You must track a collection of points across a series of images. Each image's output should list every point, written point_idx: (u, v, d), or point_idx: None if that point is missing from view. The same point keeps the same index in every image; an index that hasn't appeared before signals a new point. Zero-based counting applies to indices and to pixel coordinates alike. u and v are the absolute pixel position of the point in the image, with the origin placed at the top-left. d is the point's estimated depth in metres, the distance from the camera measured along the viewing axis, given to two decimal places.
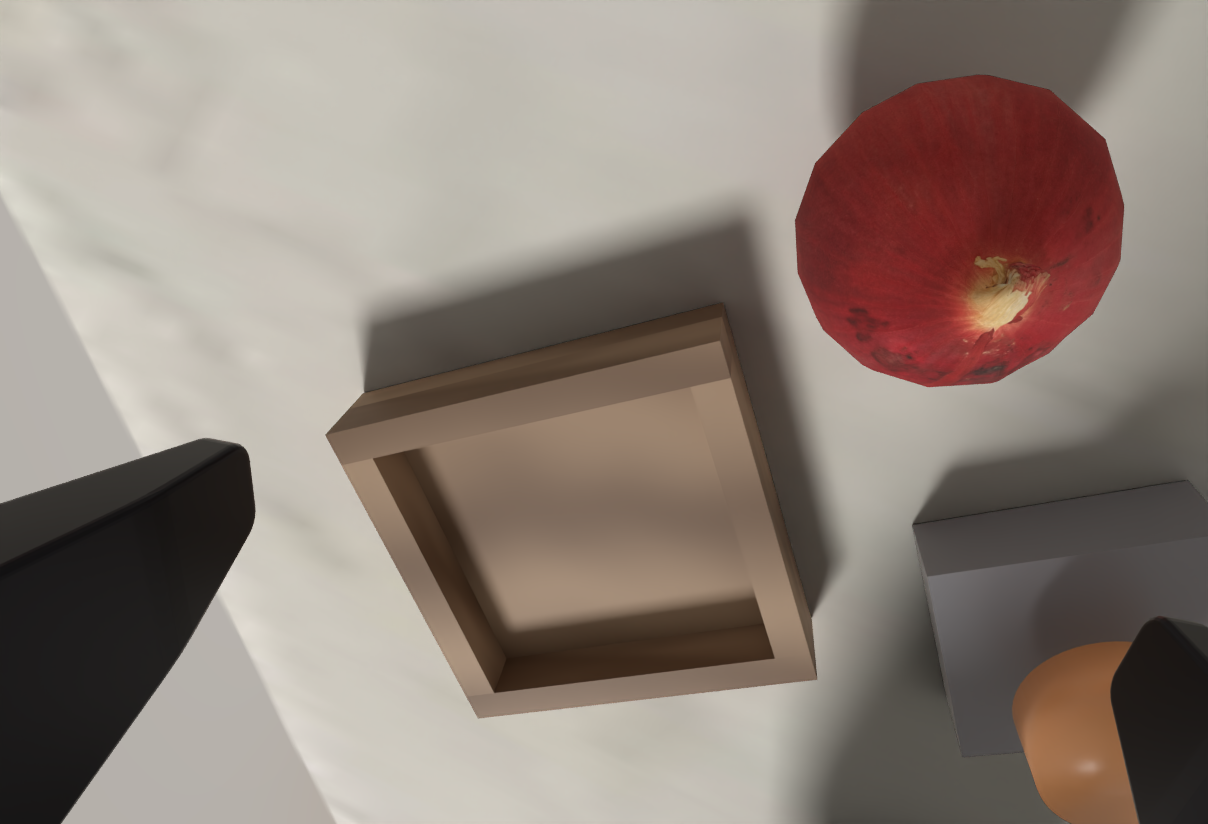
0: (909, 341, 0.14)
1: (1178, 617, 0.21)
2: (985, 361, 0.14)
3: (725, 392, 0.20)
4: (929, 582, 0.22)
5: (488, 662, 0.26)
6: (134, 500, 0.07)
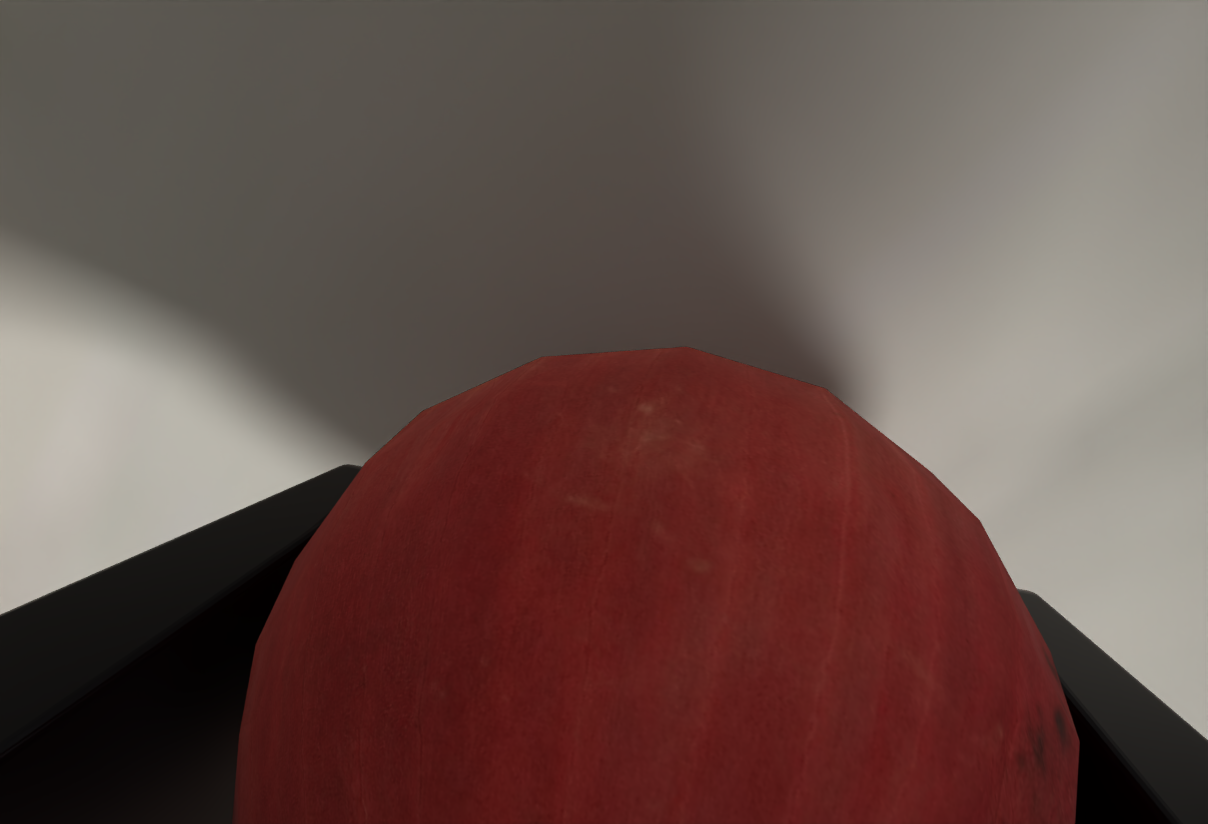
0: None
1: None
2: None
3: None
4: None
5: None
6: (302, 533, 0.07)
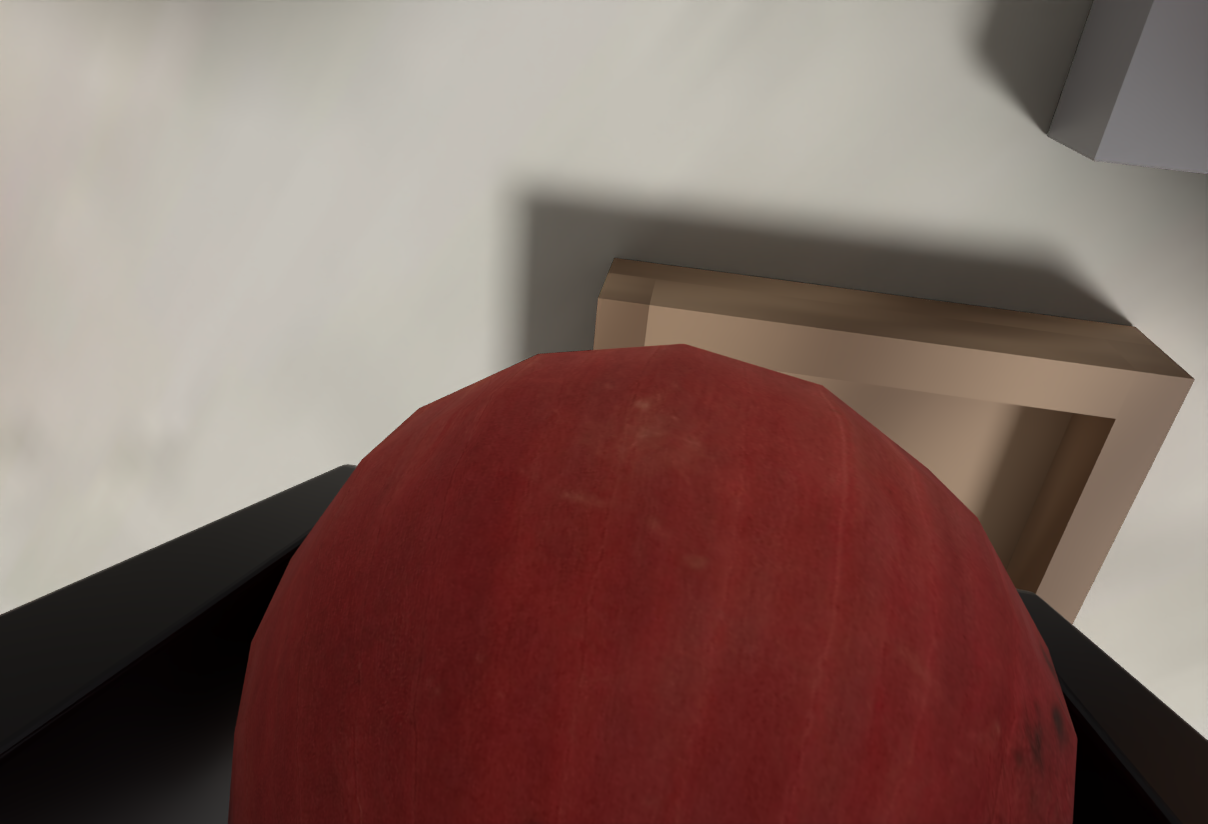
0: None
1: None
2: None
3: (666, 318, 0.16)
4: (1108, 160, 0.13)
5: None
6: (303, 532, 0.07)
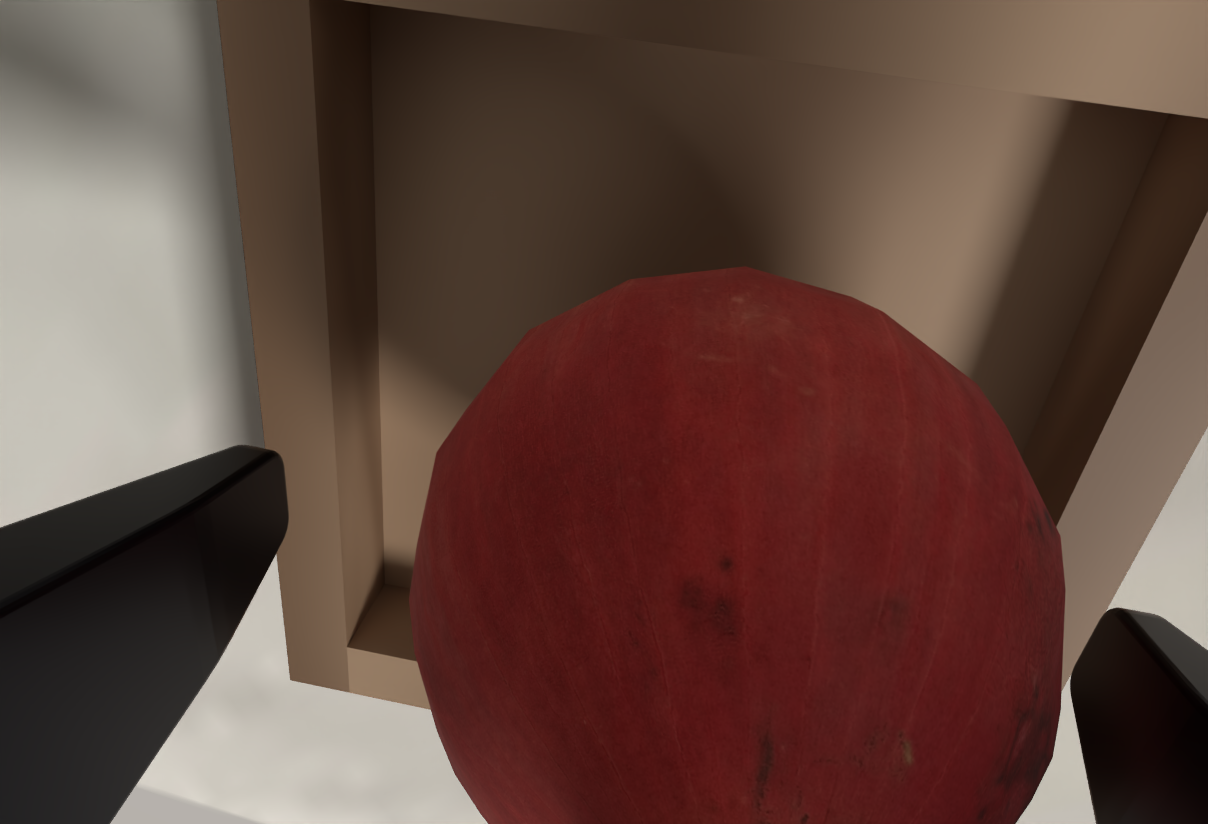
0: None
1: None
2: None
3: None
4: None
5: None
6: (176, 508, 0.07)
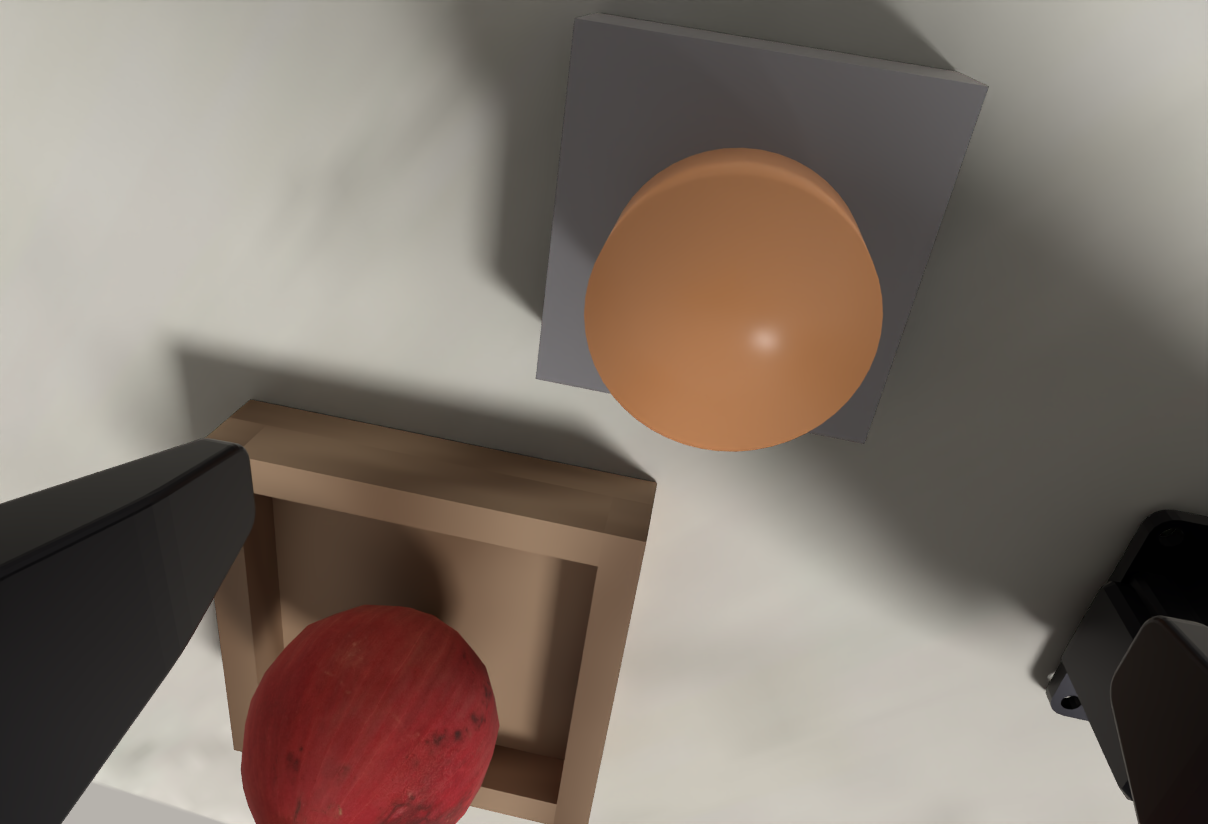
0: None
1: (705, 115, 0.14)
2: None
3: None
4: (546, 379, 0.17)
5: (532, 783, 0.24)
6: (134, 500, 0.07)
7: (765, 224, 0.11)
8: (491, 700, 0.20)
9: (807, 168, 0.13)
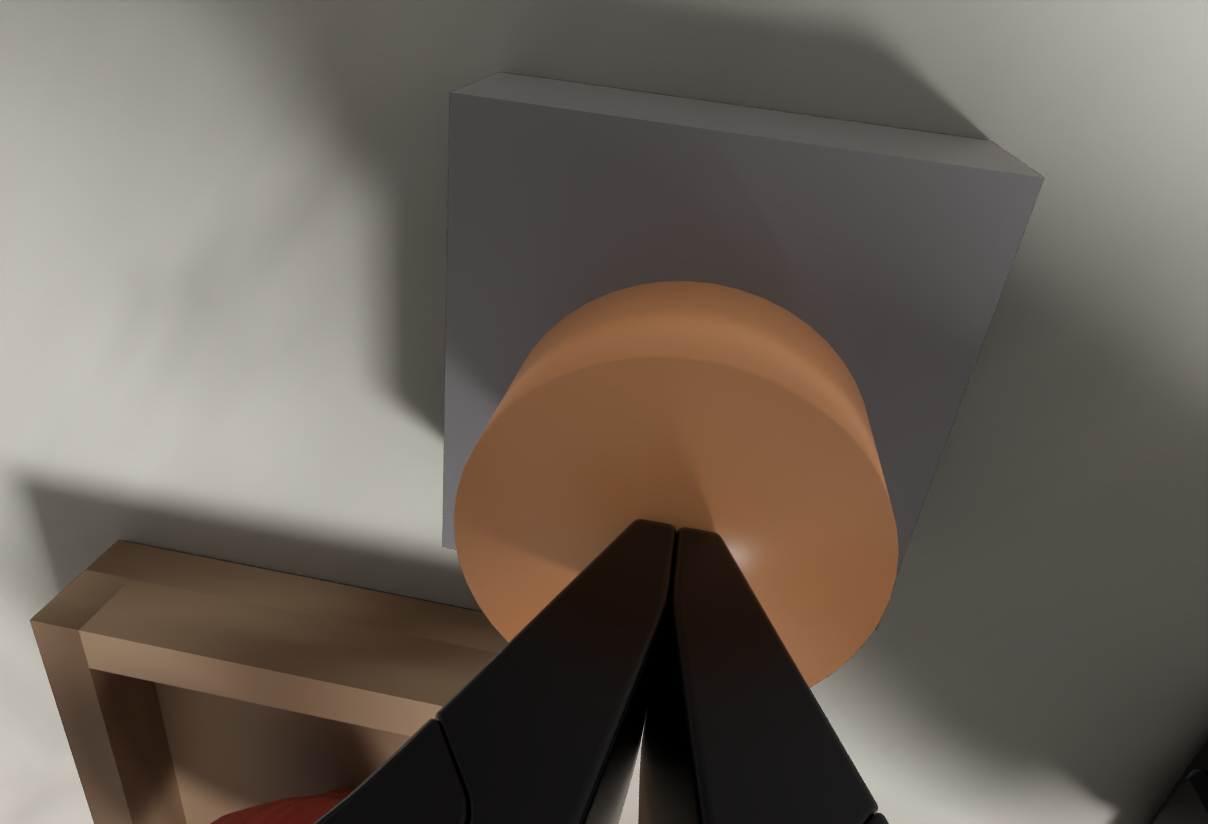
0: None
1: (640, 220, 0.10)
2: None
3: (98, 642, 0.15)
4: None
5: None
6: (655, 601, 0.06)
7: (711, 426, 0.07)
8: None
9: (780, 311, 0.09)
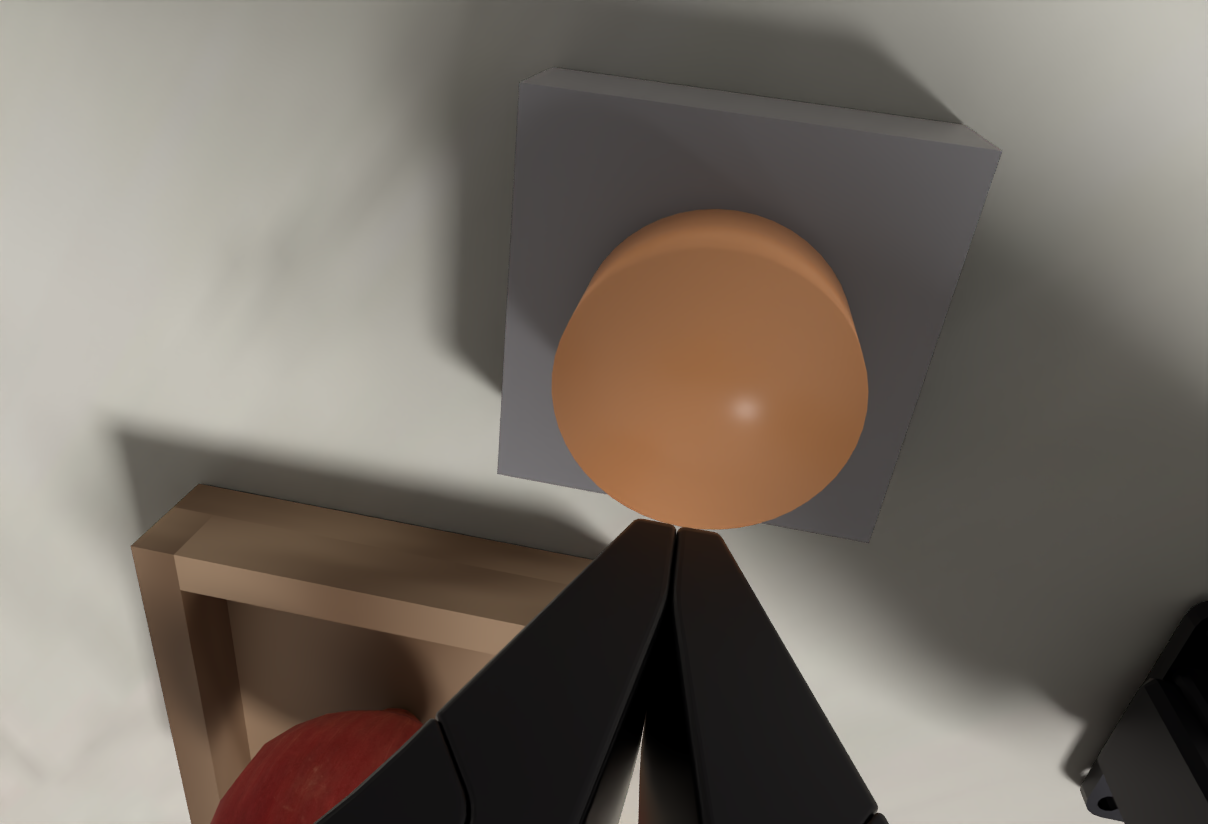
0: None
1: (674, 188, 0.12)
2: None
3: (190, 565, 0.18)
4: (509, 474, 0.15)
5: None
6: (655, 601, 0.06)
7: (738, 298, 0.11)
8: None
9: (786, 229, 0.12)
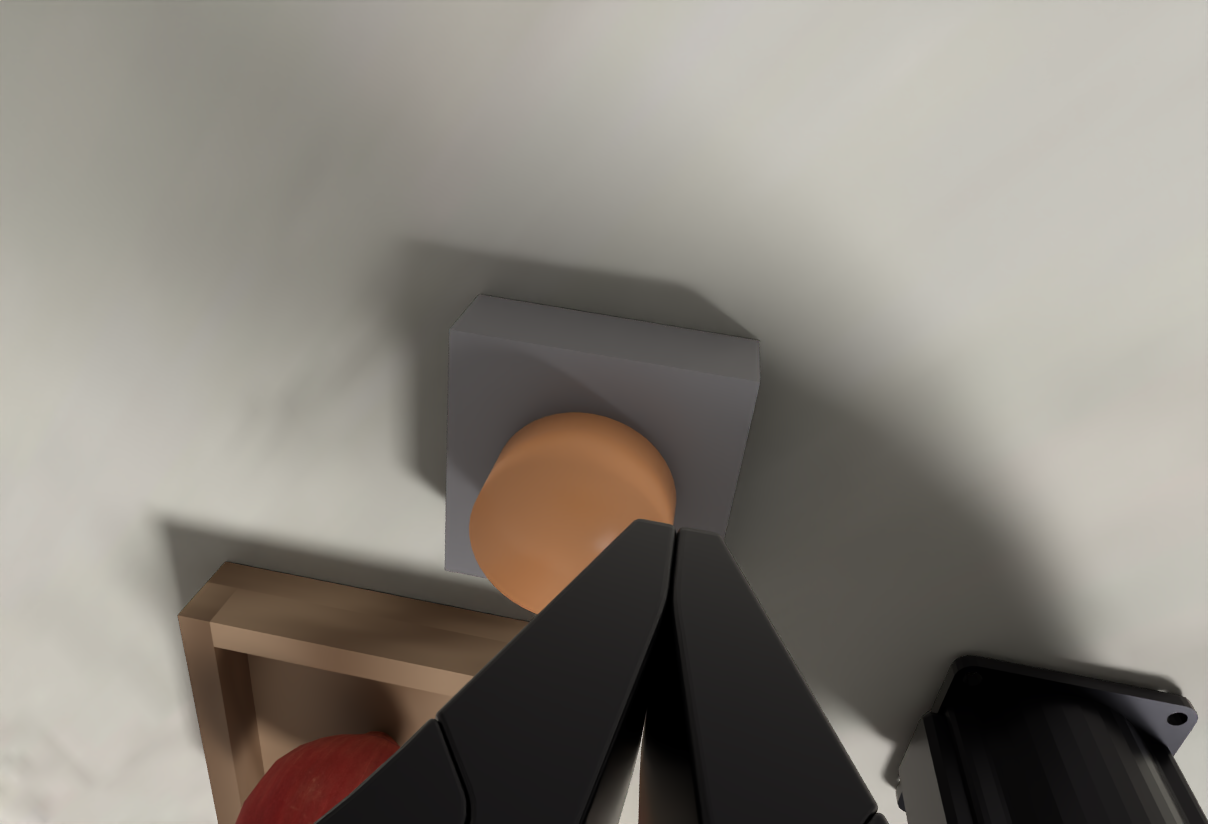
0: None
1: (553, 395, 0.19)
2: None
3: (221, 629, 0.24)
4: (453, 570, 0.22)
5: None
6: (655, 601, 0.06)
7: (582, 487, 0.17)
8: None
9: (624, 428, 0.18)
